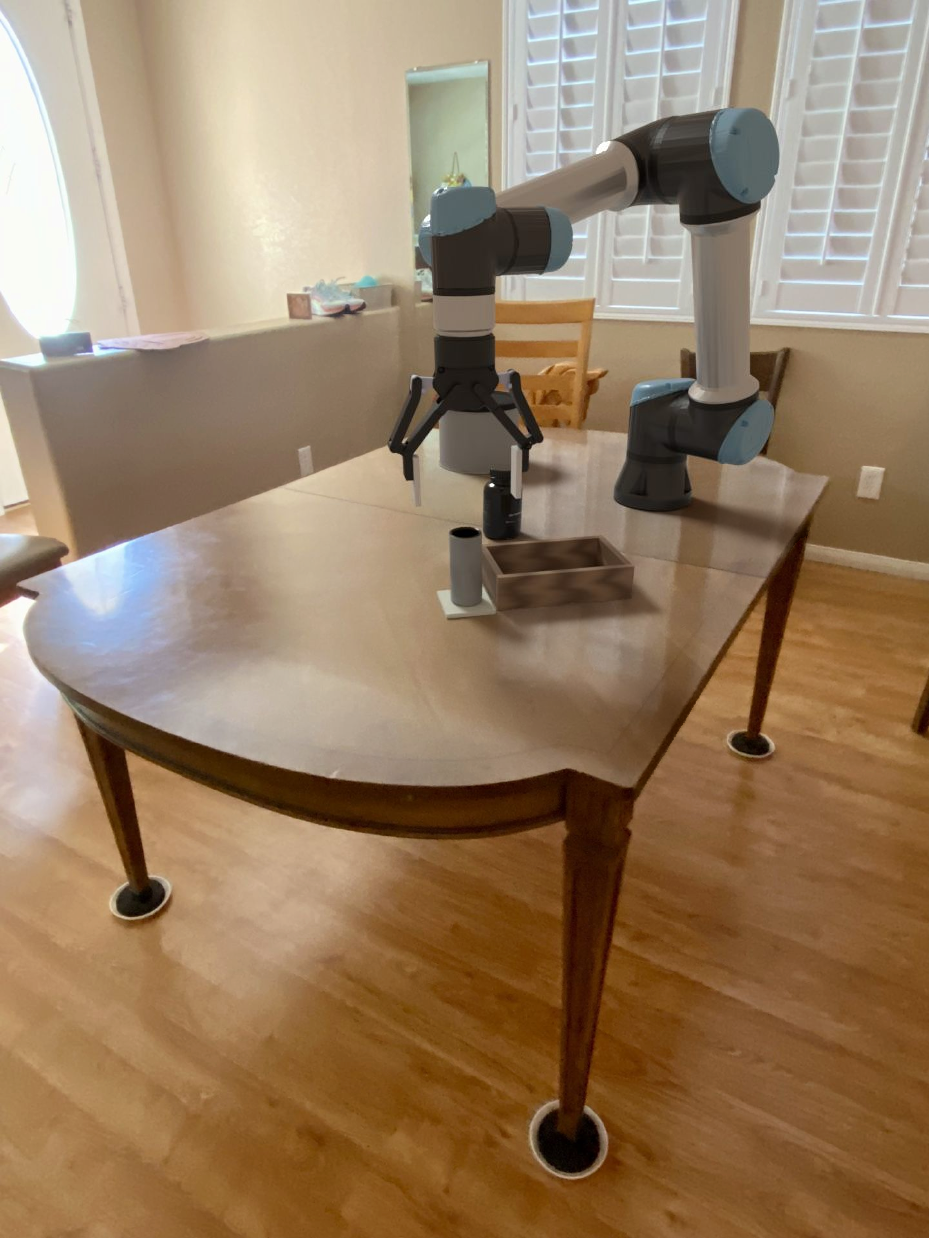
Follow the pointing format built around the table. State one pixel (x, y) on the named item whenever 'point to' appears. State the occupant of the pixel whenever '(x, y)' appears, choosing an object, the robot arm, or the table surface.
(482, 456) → the container
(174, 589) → the table surface
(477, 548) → the gray cylindrical cup
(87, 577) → the table surface
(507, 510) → the supplement bottle
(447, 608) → the coaster
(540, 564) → the box frame
